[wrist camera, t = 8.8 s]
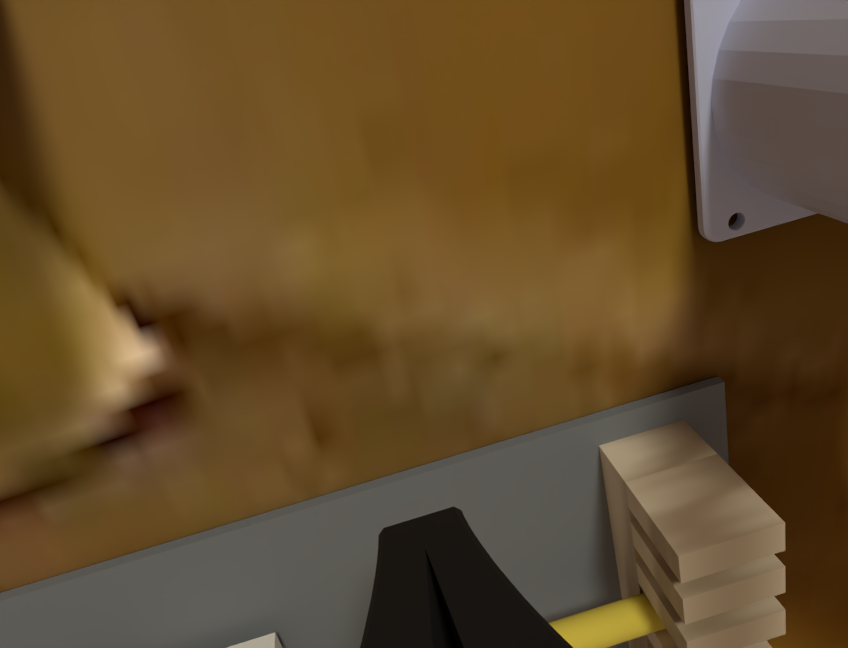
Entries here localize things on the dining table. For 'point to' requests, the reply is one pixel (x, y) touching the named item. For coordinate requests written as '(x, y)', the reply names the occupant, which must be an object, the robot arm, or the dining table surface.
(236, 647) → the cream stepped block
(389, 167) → the dining table surface
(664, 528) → the cable comb
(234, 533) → the cable mat
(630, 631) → the yellow rod
